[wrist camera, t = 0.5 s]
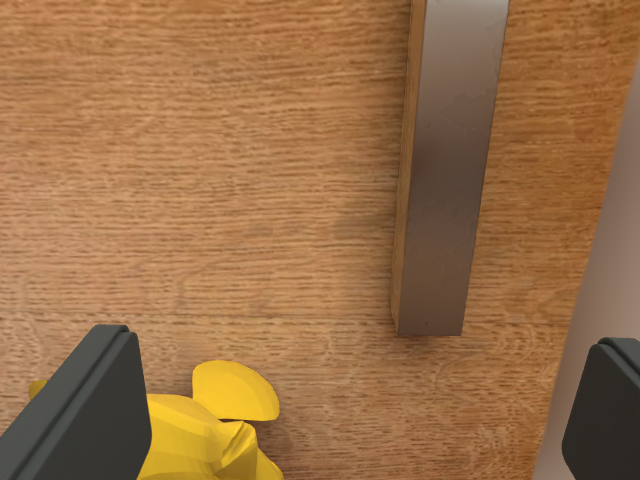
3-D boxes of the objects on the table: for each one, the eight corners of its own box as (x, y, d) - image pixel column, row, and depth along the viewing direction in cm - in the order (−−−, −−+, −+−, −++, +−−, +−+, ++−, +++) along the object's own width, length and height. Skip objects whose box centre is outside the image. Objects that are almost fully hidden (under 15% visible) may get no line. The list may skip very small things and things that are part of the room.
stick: (415, -52, 18) (431, -71, 15) (491, -51, 18) (521, -70, 15) (388, 303, 24) (396, 336, 21) (445, 304, 24) (461, 336, 21)
